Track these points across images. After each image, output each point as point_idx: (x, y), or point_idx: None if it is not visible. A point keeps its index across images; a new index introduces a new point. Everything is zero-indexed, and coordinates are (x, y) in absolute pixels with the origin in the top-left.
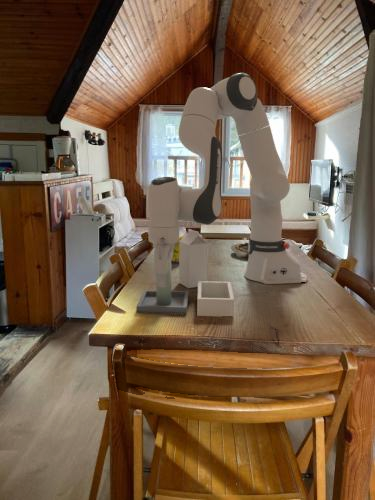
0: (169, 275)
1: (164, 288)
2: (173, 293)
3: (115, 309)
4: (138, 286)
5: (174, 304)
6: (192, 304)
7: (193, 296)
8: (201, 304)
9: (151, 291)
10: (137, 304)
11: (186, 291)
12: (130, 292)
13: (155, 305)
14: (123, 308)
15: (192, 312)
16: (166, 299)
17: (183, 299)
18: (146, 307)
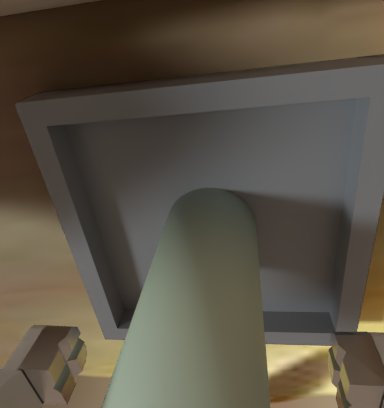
0: (229, 378)
1: (260, 300)
2: (78, 198)
3: (296, 380)
4: (6, 341)
5: (233, 165)
6: (173, 37)
7: (10, 55)
8: None
9: (111, 309)
10: (325, 345)
11: (28, 117)
12: (89, 357)
13: (344, 272)
14: (283, 360)
15: (346, 9)
16: (252, 230)
17: (125, 119)
18: (358, 305)
